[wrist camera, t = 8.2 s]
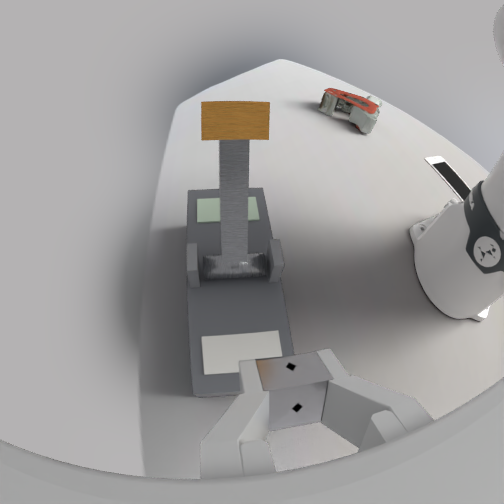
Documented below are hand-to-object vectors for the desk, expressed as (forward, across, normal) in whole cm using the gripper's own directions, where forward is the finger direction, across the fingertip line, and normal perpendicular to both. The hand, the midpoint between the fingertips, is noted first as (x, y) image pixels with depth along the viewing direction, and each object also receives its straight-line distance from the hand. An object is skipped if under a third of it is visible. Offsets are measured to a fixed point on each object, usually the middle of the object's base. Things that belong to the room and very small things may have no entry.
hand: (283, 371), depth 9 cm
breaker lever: (+15, 0, +1) cm, 15 cm away
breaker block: (+20, +1, +6) cm, 21 cm away
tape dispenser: (+50, -31, -21) cm, 62 cm away
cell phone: (+36, -48, -7) cm, 61 cm away
